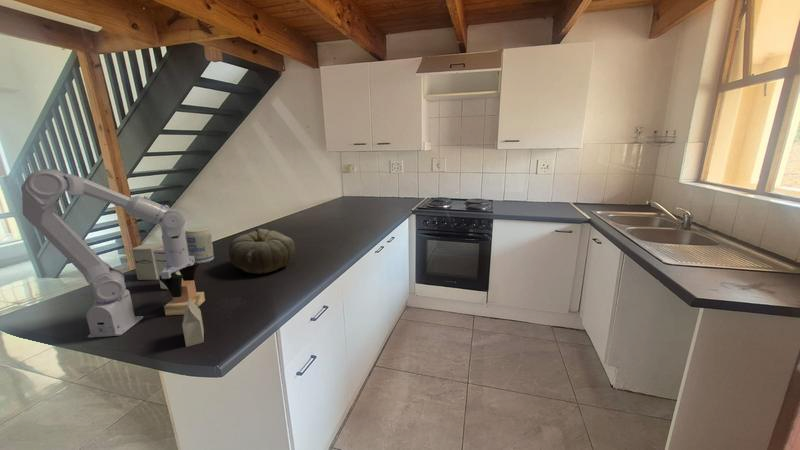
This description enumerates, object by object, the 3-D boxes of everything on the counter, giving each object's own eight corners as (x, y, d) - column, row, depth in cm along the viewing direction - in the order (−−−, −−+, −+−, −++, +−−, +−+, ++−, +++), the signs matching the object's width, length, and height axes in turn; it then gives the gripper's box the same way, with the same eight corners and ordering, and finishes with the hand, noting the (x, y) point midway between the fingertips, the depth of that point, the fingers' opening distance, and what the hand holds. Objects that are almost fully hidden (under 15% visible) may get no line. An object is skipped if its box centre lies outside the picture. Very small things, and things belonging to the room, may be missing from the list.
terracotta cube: (189, 301, 96) (186, 286, 94) (173, 302, 95) (170, 287, 94) (196, 294, 100) (194, 280, 99) (181, 295, 99) (178, 281, 98)
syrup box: (173, 290, 111) (166, 250, 107) (160, 288, 112) (152, 249, 108) (187, 283, 116) (181, 246, 113) (174, 282, 117) (167, 245, 114)
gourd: (263, 249, 148) (261, 214, 141) (308, 263, 141) (308, 227, 134) (217, 273, 126) (212, 233, 119) (268, 291, 119) (265, 250, 112)
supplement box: (137, 280, 119) (130, 248, 116) (151, 273, 126) (145, 243, 124) (156, 280, 119) (150, 248, 117) (170, 272, 127) (164, 242, 124)
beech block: (191, 313, 94) (189, 304, 93) (165, 315, 93) (163, 306, 93) (205, 300, 103) (203, 291, 102) (182, 301, 102) (180, 293, 101)
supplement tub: (188, 265, 134) (182, 232, 131) (190, 259, 142) (185, 227, 139) (214, 262, 139) (209, 229, 135) (215, 256, 147) (210, 225, 143)
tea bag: (203, 329, 86) (198, 296, 84) (203, 342, 80) (197, 306, 78) (187, 333, 84) (181, 299, 82) (186, 346, 78) (179, 310, 76)
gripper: (177, 256, 87) (185, 301, 90) (202, 242, 101) (208, 281, 104) (149, 257, 86) (158, 303, 89) (178, 242, 100) (185, 282, 103)
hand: (183, 291), depth 97 cm, fingers open, 7 cm apart
